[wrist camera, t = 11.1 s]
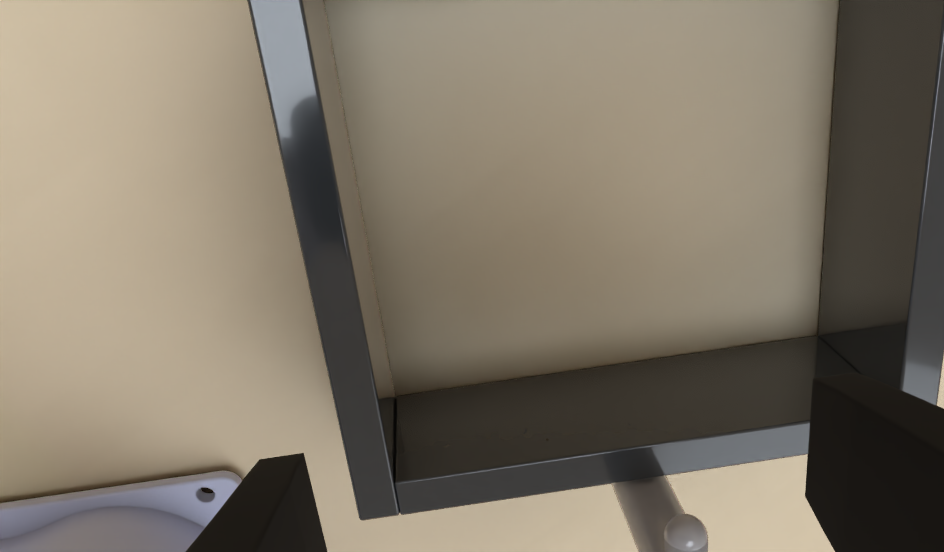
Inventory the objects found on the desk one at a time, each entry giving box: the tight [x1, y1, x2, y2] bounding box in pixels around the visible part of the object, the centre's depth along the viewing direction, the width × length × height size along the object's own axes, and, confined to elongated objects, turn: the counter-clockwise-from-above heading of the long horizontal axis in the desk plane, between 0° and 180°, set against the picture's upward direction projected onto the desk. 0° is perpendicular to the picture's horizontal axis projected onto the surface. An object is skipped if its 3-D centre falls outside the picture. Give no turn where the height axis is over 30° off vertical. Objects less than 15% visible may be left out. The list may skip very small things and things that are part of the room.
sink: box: [247, 0, 944, 552], centre depth 17 cm, size 14×15×7 cm
